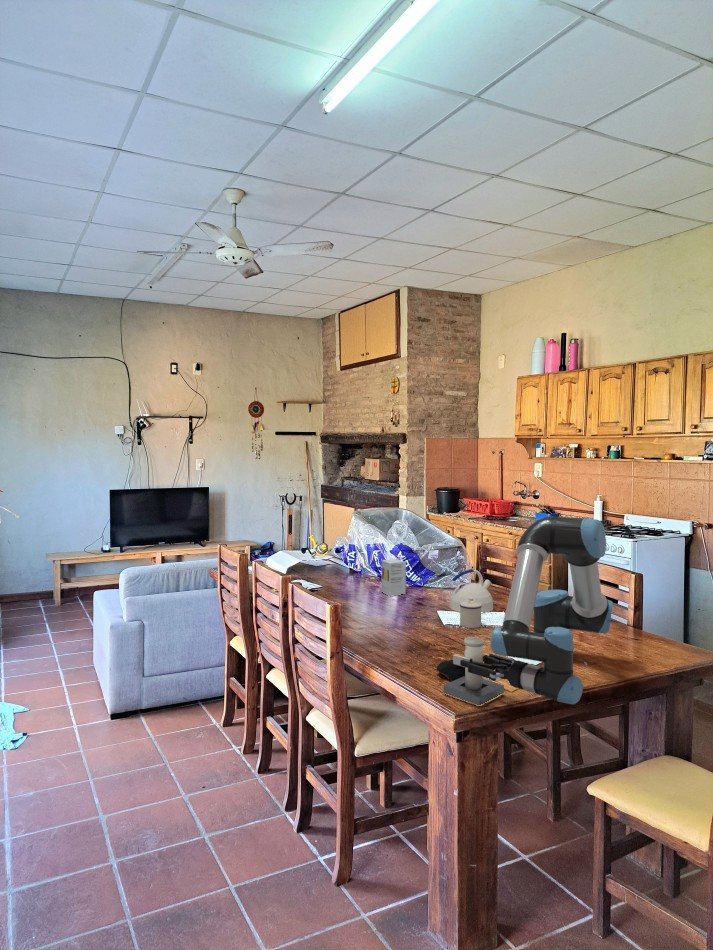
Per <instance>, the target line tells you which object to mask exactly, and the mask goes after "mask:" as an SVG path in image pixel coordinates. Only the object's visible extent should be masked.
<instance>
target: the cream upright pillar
mask: <svg viewBox="0 0 713 950" xmlns="http://www.w3.org/2000/svg"><path fill="white" fill-rule="evenodd" d="M463 641H464V642H463V644H464V645H465V650H466V652H465V658H469V659H472V661H474V662H480V663H482V655H483V646H484V645H485V640H484V639H483V638H481V637H477V636H475V637H474V636H468V637H465V638H464V640H463ZM482 679H483V677H482V676H479V675H476V674H472V673H469V672H468V668H466V667H465V687H466V688H469V689H472V690H475V691H478V690H480V689H482Z"/></svg>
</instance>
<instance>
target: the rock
mask: <svg viewBox="0 0 713 950" xmlns="http://www.w3.org/2000/svg"><path fill="white" fill-rule="evenodd" d="M436 671H437V672H438V673H440V674H441V675H443V676H445V677H446V679H448V680H449V679H450V680H449V681H451V680H452V681H454V680H457V679H459V678H461V677H464V676H465V667H462V666H459V665H456V664H453V658H451V659H450V660H443V661H441V662H440V663H438V665H437V666H436ZM452 681H451V682H452Z"/></svg>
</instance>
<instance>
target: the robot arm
mask: <svg viewBox="0 0 713 950" xmlns="http://www.w3.org/2000/svg"><path fill="white" fill-rule="evenodd" d="M606 550H607V538H606V529H605V526H604V524H603V522H602V521H601V520H599V519H597V518H595V519H594V518H589V517H572V516H571V517H569V516H565V517H564V516H554V515H553V516H552V515H550V516H544V517H541V518H539V519H537V520H535V521H534V522H533V523H531V524H530V525H529V526H528V527H527V528H526V529H525V531H524V532H523V533H522V535H521V536H520V538H519V540H518V543H517V548H516V551H515V552H516V555H517V557H518V558H517V562H516V567H515V571H514V575H513V578H512V583H511V588H510V591H509V596H508V600H507V605H506V607H505V609H506V610H505V613H504V617H503V621H502V626H501V627H500V626H499V627H498V626H497V627H494V628H493V629H492V632H491V633H490V634H491V635H490V649H491V652H492V653H489V655H488V654H484V655H483V654H482V663H480V662H474V661H472V659H469V658H465V652H466V649H465V650H464V651H463V656H461V655H459V654H453V655H452V660H453V664H456V665H459V666H462V667H466V668H468V672H469V673H472V674H476V675H479V676H482V678H489V679H490V680H492V681H496V678H498V677H499V678H501V679H507V680H508V681H509V683H510V685H511V686H513V687H515V688H519V689H518V690H524V691H526V692H530V693H532V694H533V695H535V696H536V695H539V696H542V697H545V698H548V699H550V700H554V701H557V702H558V703H563V704H567V705H576V704H577V703H578V702H579V701H580V700H581V698H582V694H583V689H584V685H583V681H582V679H581V678H580V677H578V676H576V675H575V674H574V668H573V667H574V649H575V647H574V634H573V632H572V631H571V630H573V631H578V632H579V631H580V632H587V633H592V634H604V635H605V634H608V633H609V632H610V628H611V620H612V614H613V612H612V611H613V605H614V603H613V601H612V600H609V599H607V597H606V596H605V594H604V593H603V592H602V587H601V586H602V585H601V579H600V578H601V577H600V571H599V570H600V569H599V563H598V562H599V561H600V559H601V558H603V557H604V556H605V554H606V552H607V551H606ZM549 554H552V555H562V556H563V559H564V560H565V561H566V563H567V564H569V568H570V575H571V581H572V588H573V592H574V595H573V596H572V595H569V593H568V591H567V590H566V589H565V590H563V589H547V590H542V591H538V590H539V586H540V581H541V574H542V571H543V566H544V562H546V561H547V560H548V558H549ZM532 619H533V631H530V629H531V624H532V623H531V622H532ZM493 653H494V654H493ZM509 657H511V658H517V659H523V660H529V661H535V662H536V661H537V662H540V663H543V666H542V665H537V664H534V663H529V662H525V661H522V660H516V659H510V658H509Z"/></svg>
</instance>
